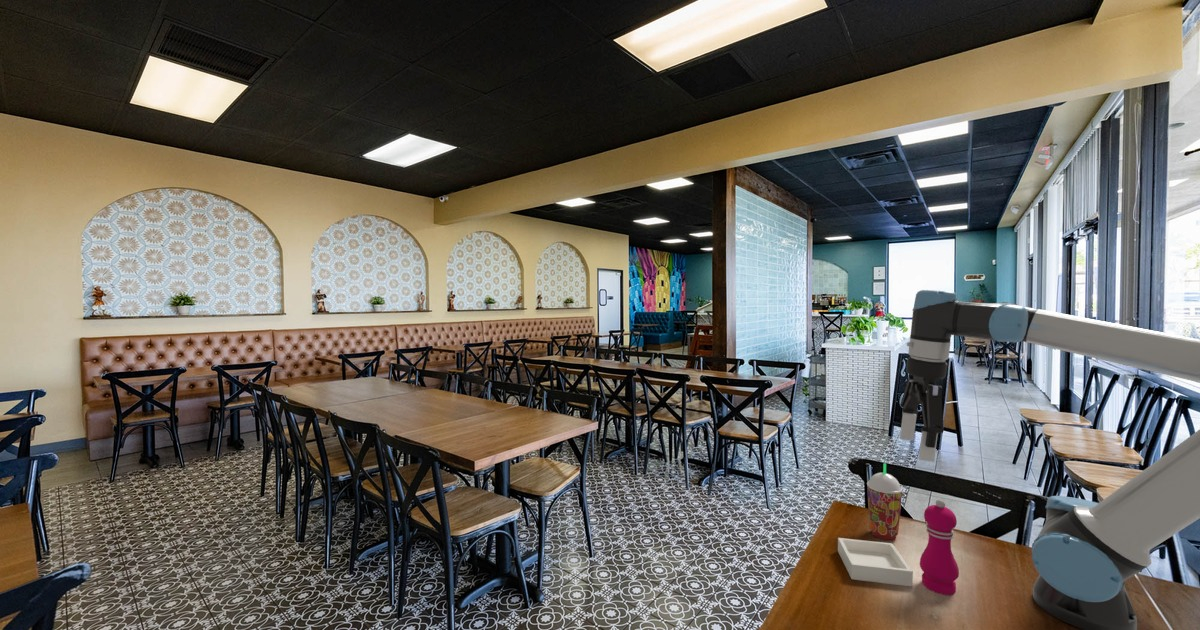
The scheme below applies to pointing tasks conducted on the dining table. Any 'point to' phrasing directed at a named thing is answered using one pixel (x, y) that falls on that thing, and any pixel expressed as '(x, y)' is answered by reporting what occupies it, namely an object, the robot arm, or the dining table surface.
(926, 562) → the pepper mill
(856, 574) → the tray
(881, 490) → the smoothie
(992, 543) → the dining table surface
